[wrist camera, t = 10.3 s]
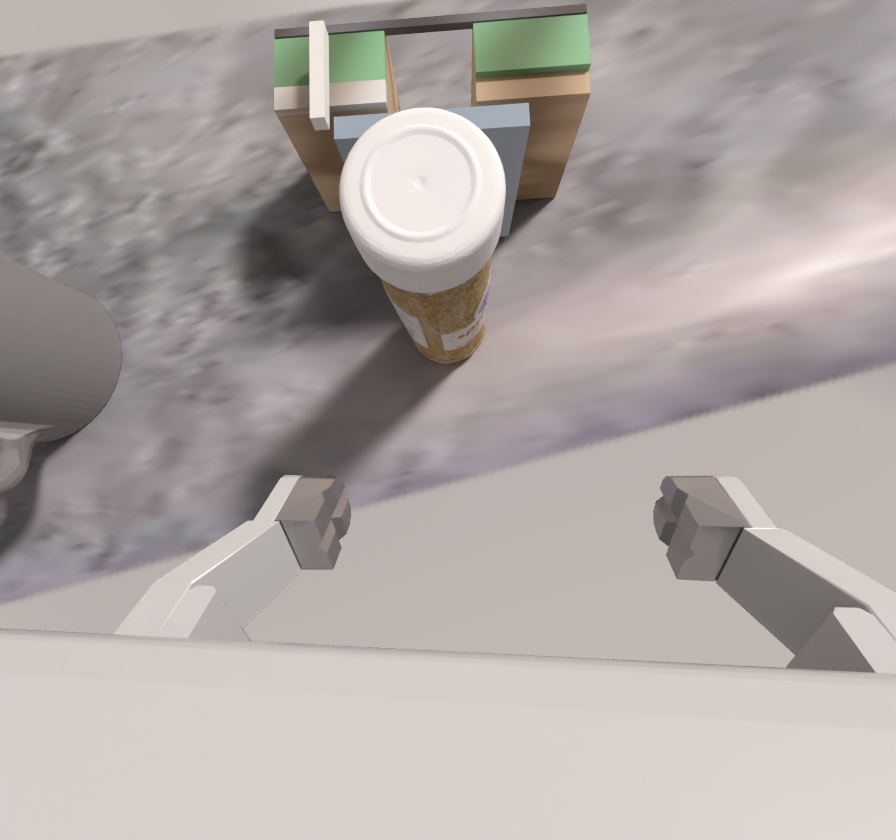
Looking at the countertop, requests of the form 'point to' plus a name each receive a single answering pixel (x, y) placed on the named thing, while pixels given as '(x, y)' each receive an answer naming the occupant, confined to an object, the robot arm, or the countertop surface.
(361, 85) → the tan and green block
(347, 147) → the gauge plunger
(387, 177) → the sprinkles bottle
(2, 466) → the coffee mug
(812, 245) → the countertop surface
